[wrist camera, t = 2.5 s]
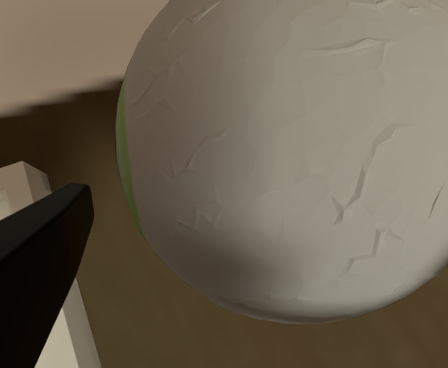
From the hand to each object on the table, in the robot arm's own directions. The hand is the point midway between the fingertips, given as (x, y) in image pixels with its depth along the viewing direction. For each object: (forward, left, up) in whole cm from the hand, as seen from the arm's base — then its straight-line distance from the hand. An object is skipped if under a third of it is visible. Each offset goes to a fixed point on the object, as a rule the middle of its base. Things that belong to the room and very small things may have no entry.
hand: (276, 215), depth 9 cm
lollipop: (+1, +1, -10) cm, 10 cm away
